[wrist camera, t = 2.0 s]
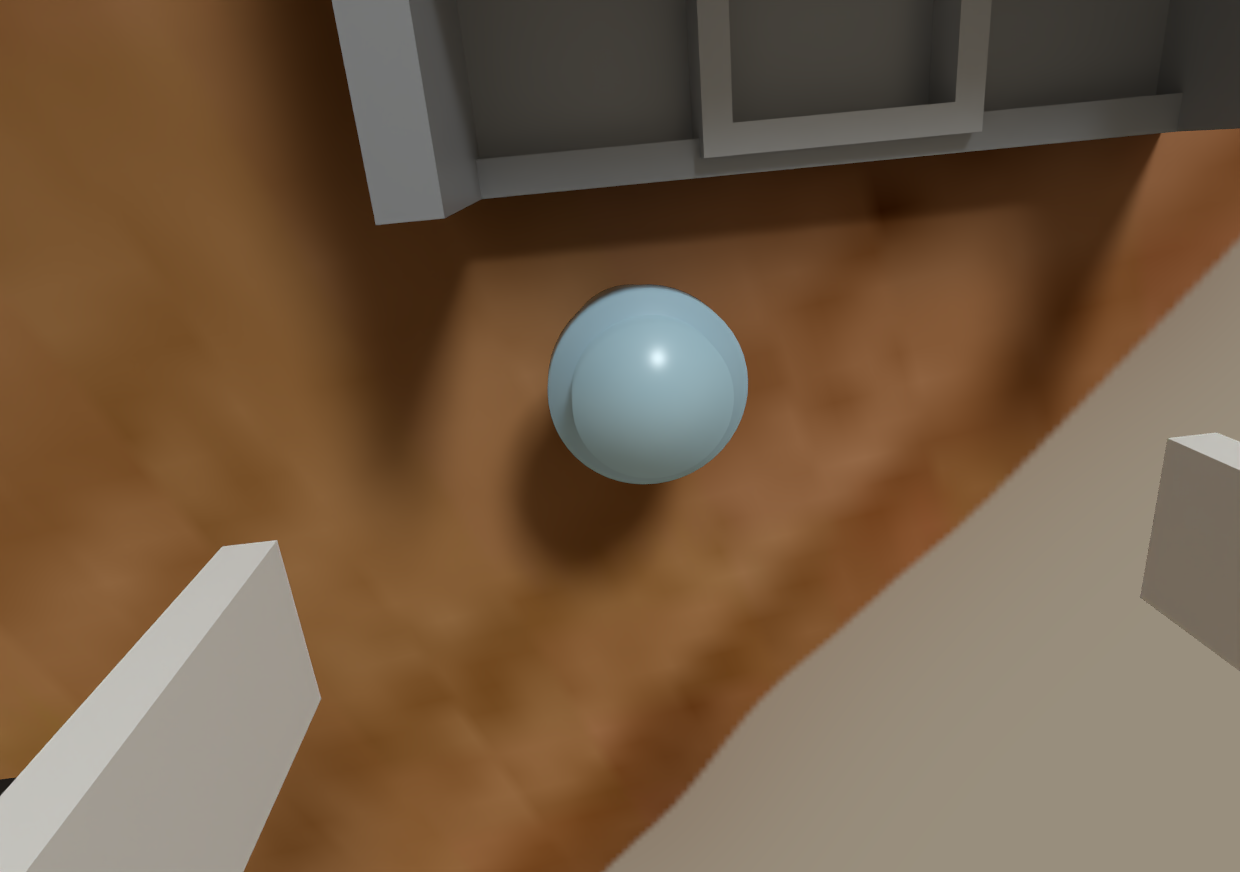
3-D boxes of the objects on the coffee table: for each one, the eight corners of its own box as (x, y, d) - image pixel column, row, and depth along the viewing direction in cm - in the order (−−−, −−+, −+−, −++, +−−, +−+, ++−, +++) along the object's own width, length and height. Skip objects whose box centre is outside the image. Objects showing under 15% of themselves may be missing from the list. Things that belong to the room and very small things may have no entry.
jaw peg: (558, 432, 25) (561, 510, 19) (538, 273, 23) (534, 309, 17) (713, 414, 25) (760, 487, 19) (706, 256, 23) (755, 286, 18)
